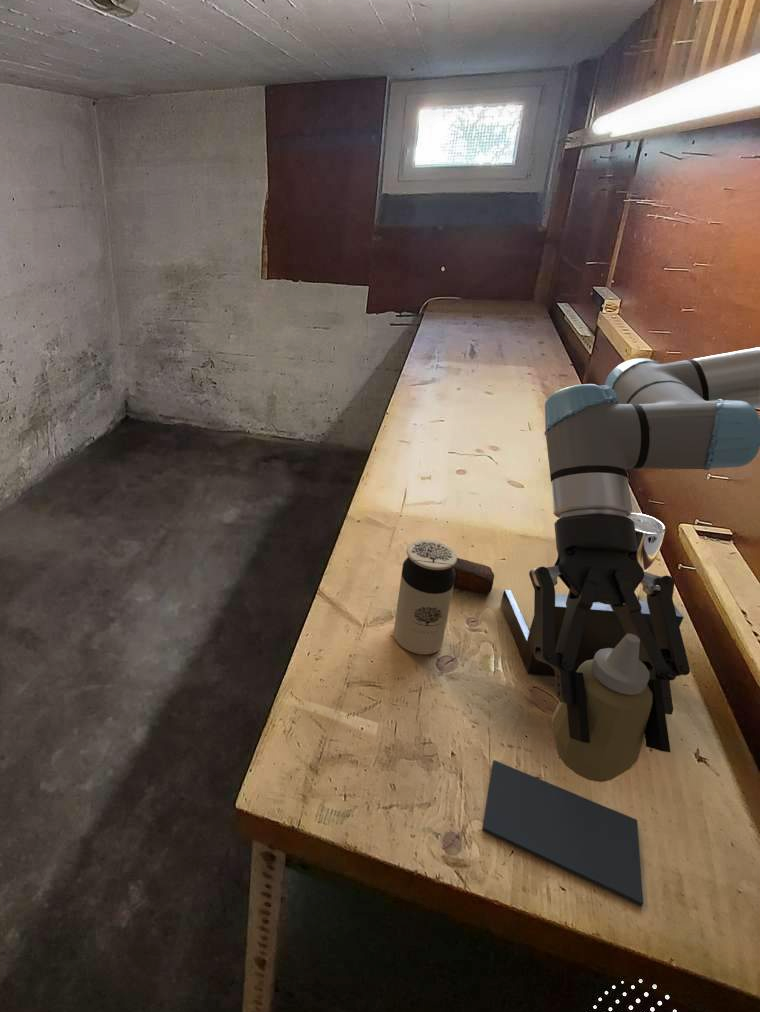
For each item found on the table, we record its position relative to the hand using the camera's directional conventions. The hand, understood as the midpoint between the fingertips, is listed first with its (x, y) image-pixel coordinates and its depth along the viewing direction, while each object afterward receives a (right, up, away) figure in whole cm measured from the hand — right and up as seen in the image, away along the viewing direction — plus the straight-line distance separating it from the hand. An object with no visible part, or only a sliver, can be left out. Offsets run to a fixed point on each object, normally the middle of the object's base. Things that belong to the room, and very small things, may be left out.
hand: (618, 744), depth 56 cm
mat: (+1, -16, +12) cm, 20 cm away
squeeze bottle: (+1, -5, +6) cm, 8 cm away
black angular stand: (+19, -3, +38) cm, 42 cm away
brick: (+6, +3, +52) cm, 52 cm away
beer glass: (+35, +3, +49) cm, 60 cm away
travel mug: (-6, -3, +40) cm, 41 cm away
